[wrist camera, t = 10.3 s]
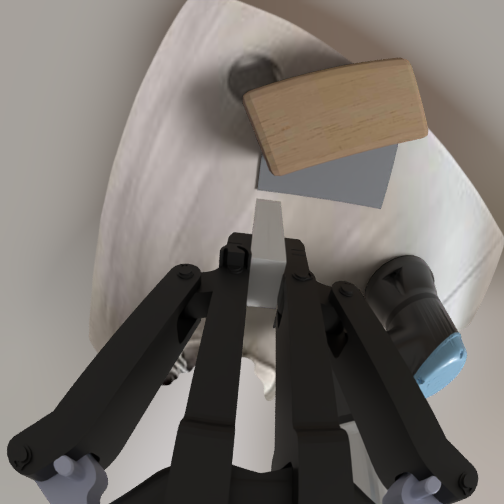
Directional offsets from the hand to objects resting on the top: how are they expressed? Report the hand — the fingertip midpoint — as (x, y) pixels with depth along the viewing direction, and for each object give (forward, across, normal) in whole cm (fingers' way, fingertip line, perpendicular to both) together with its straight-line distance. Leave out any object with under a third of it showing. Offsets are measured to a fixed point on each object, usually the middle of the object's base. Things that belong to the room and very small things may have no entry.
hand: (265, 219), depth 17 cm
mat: (+23, -9, 0) cm, 25 cm away
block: (+17, +2, -3) cm, 18 cm away
